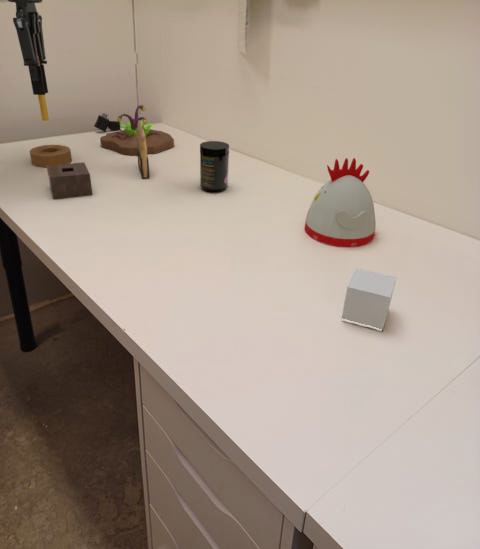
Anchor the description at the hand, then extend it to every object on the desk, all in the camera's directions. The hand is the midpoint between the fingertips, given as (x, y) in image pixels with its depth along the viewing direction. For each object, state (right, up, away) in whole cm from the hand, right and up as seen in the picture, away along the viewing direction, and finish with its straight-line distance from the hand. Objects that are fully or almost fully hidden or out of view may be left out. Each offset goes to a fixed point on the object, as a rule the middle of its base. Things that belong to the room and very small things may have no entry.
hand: (40, 93), depth 117 cm
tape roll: (-1, -15, +9) cm, 17 cm away
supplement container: (+43, -24, -3) cm, 50 cm away
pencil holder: (+10, -26, -8) cm, 29 cm away
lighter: (+6, +2, +37) cm, 37 cm away
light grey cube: (+68, -51, -46) cm, 97 cm away
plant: (+19, -6, +25) cm, 32 cm away
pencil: (0, -6, +3) cm, 6 cm away
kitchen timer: (+70, -36, -21) cm, 81 cm away
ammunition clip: (+25, -19, +5) cm, 31 cm away
